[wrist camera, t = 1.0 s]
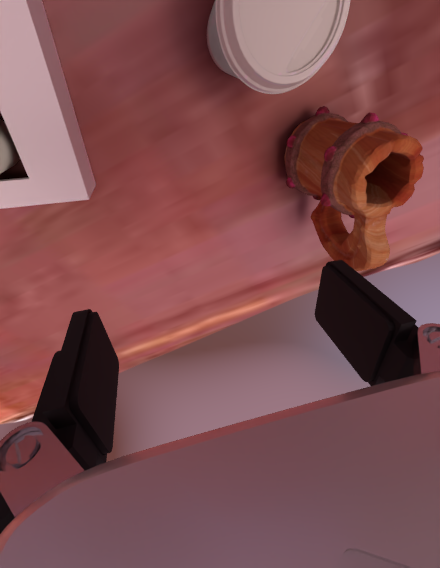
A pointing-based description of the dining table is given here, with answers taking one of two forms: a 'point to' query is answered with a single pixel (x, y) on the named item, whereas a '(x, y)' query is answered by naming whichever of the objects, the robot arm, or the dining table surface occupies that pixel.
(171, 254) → the dining table surface
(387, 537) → the robot arm
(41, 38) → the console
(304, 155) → the mug
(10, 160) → the sage button
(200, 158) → the dining table surface
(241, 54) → the coffee cup
